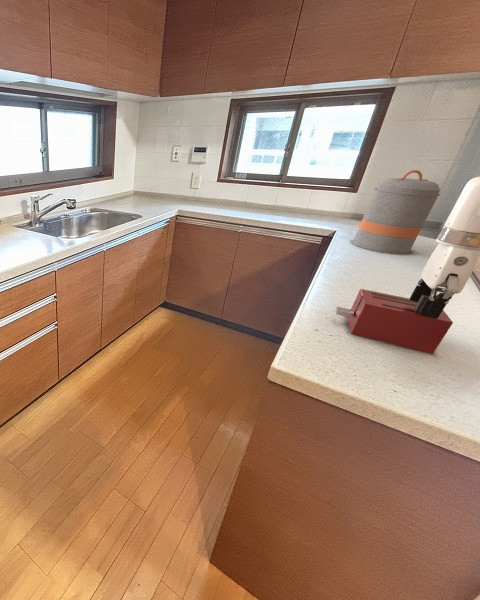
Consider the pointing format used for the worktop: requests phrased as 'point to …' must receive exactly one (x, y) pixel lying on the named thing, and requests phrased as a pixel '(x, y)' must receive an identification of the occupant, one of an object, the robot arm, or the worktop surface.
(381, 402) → the worktop surface
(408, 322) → the toaster
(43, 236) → the worktop surface
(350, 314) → the brushed metal plate
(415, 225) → the storage container
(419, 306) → the slider
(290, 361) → the worktop surface
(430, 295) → the robot arm
